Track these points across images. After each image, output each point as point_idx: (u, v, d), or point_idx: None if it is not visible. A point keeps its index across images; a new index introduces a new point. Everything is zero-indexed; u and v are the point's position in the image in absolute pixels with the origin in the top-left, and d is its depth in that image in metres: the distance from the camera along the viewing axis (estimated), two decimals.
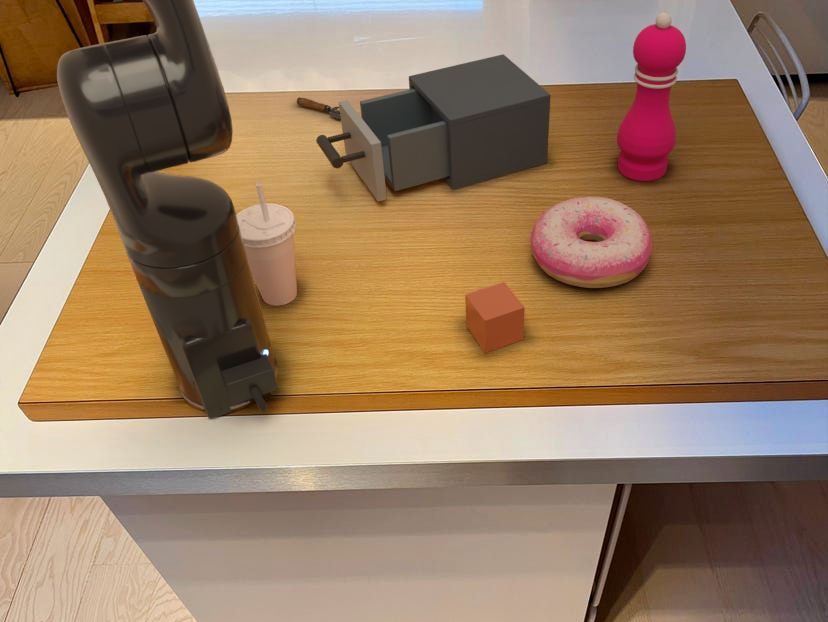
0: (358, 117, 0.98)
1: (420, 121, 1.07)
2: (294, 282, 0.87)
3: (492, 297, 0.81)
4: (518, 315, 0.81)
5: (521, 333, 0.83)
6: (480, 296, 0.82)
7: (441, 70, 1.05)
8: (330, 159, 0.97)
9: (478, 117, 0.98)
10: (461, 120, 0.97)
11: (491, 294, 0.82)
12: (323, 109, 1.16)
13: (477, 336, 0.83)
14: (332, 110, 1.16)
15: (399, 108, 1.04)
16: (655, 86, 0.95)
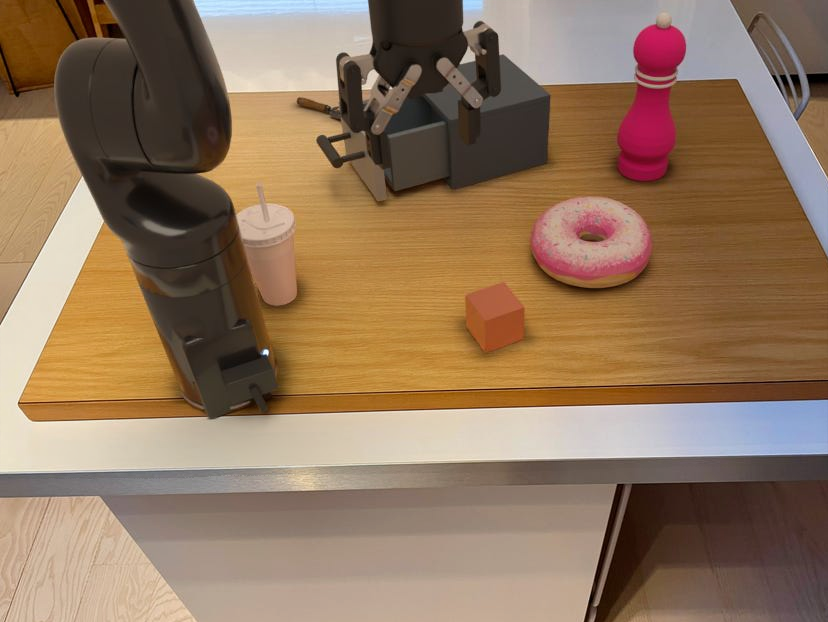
0: None
1: (420, 121, 1.07)
2: (294, 282, 0.87)
3: (492, 297, 0.81)
4: (518, 315, 0.81)
5: (521, 333, 0.83)
6: (480, 296, 0.82)
7: None
8: (330, 159, 0.97)
9: None
10: None
11: (491, 294, 0.82)
12: (323, 109, 1.16)
13: (477, 336, 0.83)
14: (332, 110, 1.16)
15: None
16: (655, 86, 0.95)
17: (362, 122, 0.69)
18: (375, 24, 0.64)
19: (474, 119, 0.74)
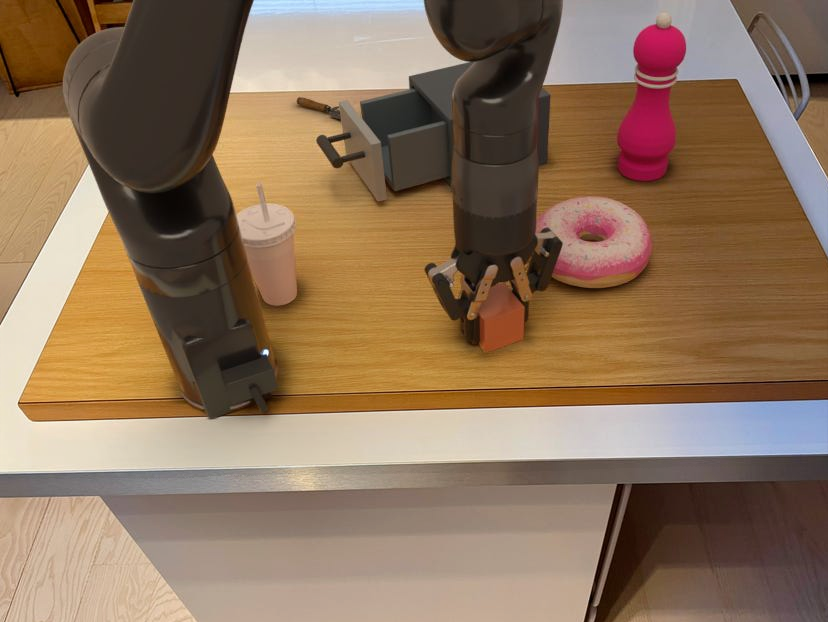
0: (358, 117, 0.98)
1: (420, 121, 1.07)
2: (294, 282, 0.87)
3: (492, 297, 0.81)
4: (518, 315, 0.81)
5: (521, 333, 0.83)
6: None
7: (441, 70, 1.05)
8: (330, 159, 0.97)
9: None
10: None
11: (491, 294, 0.82)
12: (323, 109, 1.16)
13: None
14: (332, 110, 1.16)
15: (399, 108, 1.04)
16: (655, 86, 0.95)
17: (460, 312, 0.78)
18: (459, 234, 0.73)
19: None
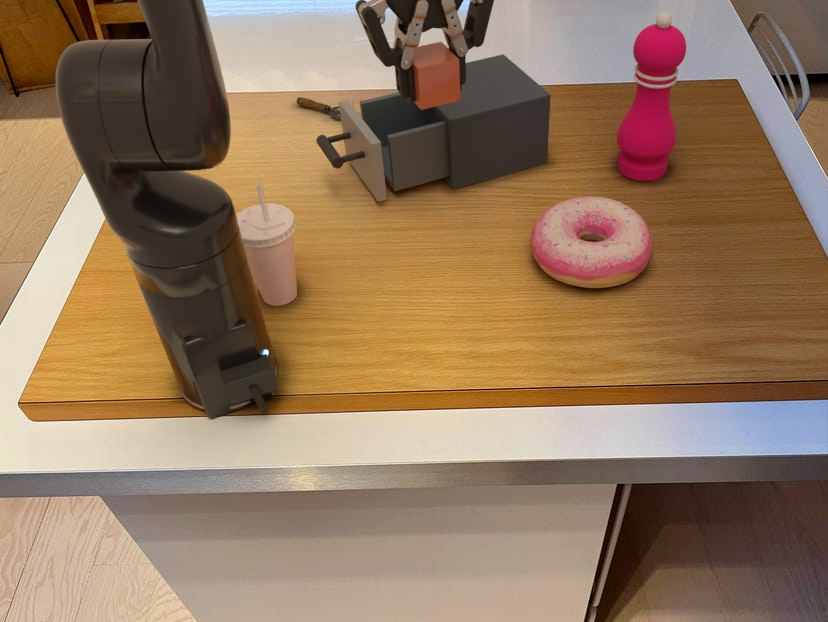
0: (358, 117, 0.98)
1: (420, 121, 1.07)
2: (294, 282, 0.87)
3: (428, 52, 0.82)
4: (453, 68, 0.81)
5: (457, 92, 0.83)
6: (416, 51, 0.82)
7: None
8: (330, 159, 0.97)
9: (478, 117, 0.98)
10: (461, 120, 0.97)
11: (427, 50, 0.82)
12: (323, 109, 1.16)
13: None
14: (332, 110, 1.16)
15: (399, 108, 1.04)
16: (655, 86, 0.95)
17: (393, 57, 0.78)
18: None
19: (460, 67, 0.82)
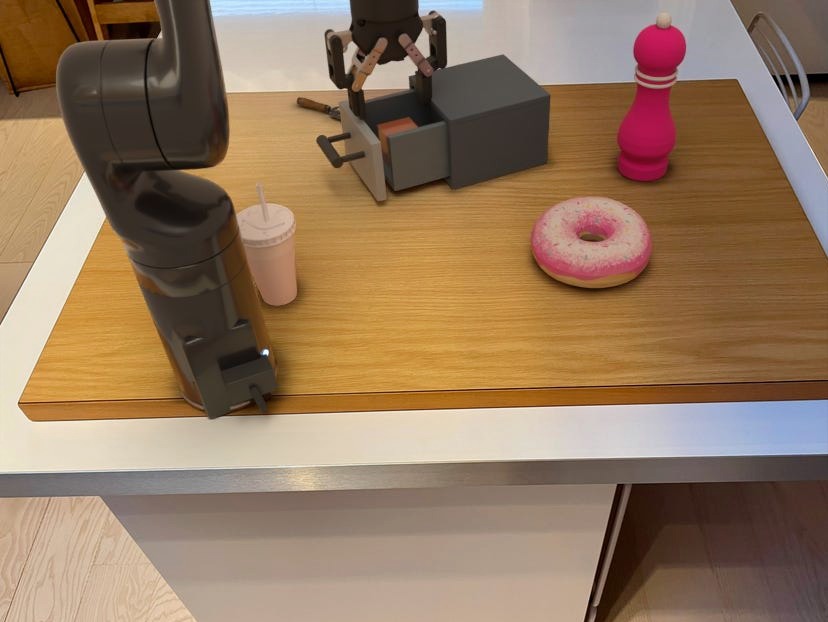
0: None
1: (420, 121, 1.07)
2: (294, 282, 0.87)
3: (398, 126, 1.01)
4: None
5: None
6: (388, 126, 1.02)
7: (441, 70, 1.05)
8: (330, 159, 0.97)
9: (478, 117, 0.98)
10: (461, 120, 0.97)
11: (397, 124, 1.02)
12: (323, 109, 1.16)
13: (387, 160, 1.02)
14: (332, 110, 1.16)
15: (399, 108, 1.04)
16: (655, 86, 0.95)
17: (345, 81, 0.92)
18: (353, 6, 0.88)
19: (427, 85, 0.98)
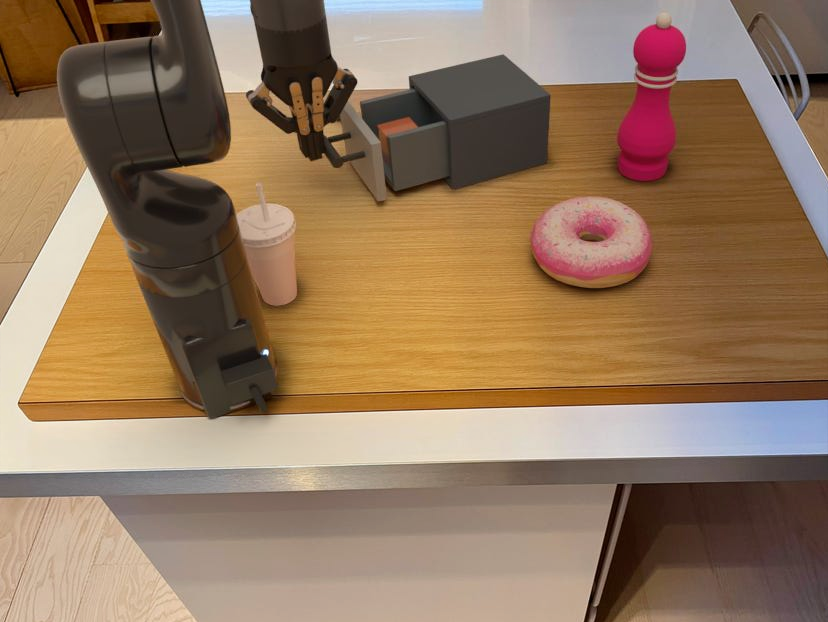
0: (358, 117, 0.98)
1: (420, 121, 1.07)
2: (294, 282, 0.87)
3: (398, 126, 1.01)
4: None
5: None
6: (388, 126, 1.02)
7: (441, 70, 1.05)
8: (330, 159, 0.97)
9: (478, 117, 0.98)
10: (461, 120, 0.97)
11: (397, 124, 1.02)
12: None
13: (387, 160, 1.02)
14: None
15: (399, 108, 1.04)
16: (655, 86, 0.95)
17: (292, 126, 0.93)
18: (262, 52, 0.87)
19: (318, 139, 0.96)
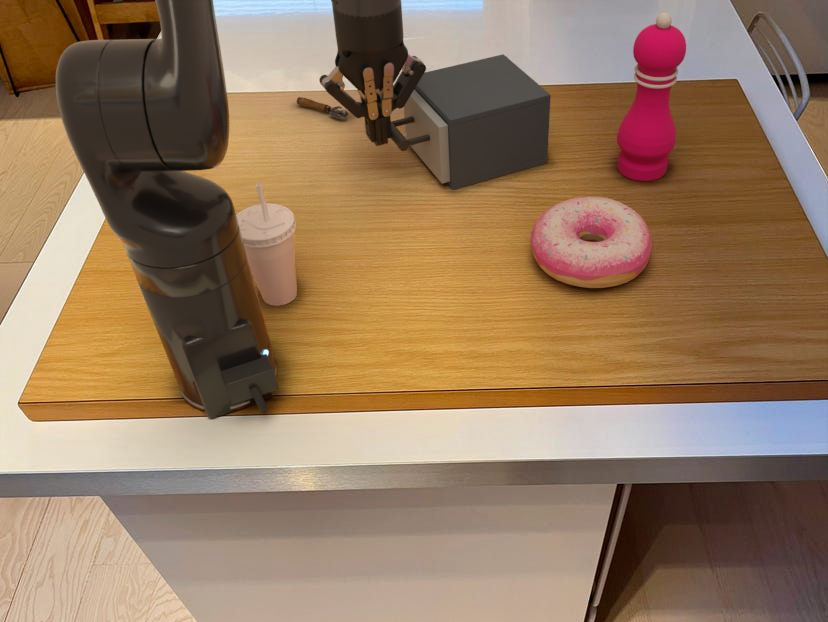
0: (423, 101, 1.01)
1: None
2: (294, 282, 0.87)
3: None
4: None
5: None
6: None
7: (441, 70, 1.05)
8: (397, 142, 0.99)
9: (478, 117, 0.98)
10: (461, 120, 0.97)
11: None
12: (323, 109, 1.16)
13: None
14: (332, 110, 1.16)
15: None
16: (655, 86, 0.95)
17: (362, 110, 0.96)
18: (338, 38, 0.90)
19: (385, 125, 0.99)
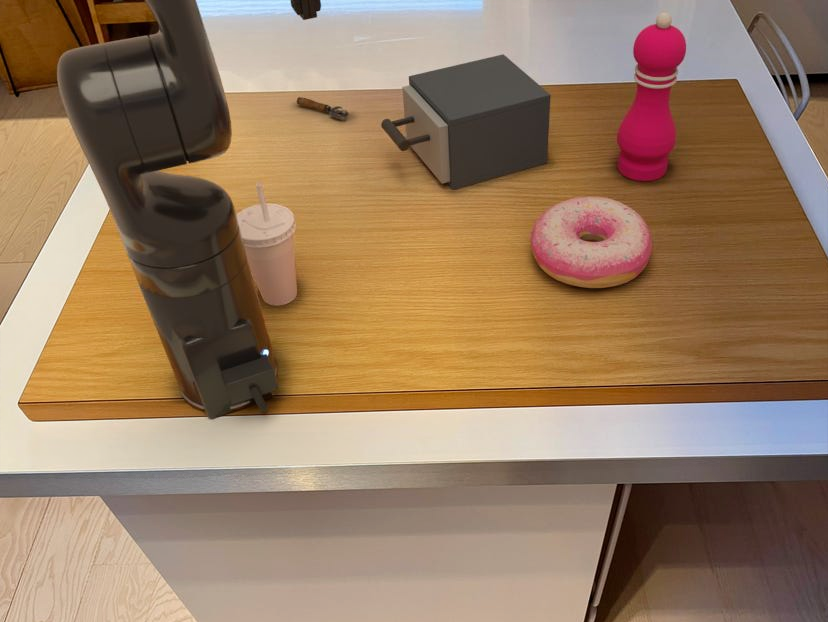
0: (423, 101, 1.01)
1: None
2: (294, 282, 0.87)
3: None
4: None
5: None
6: None
7: (441, 70, 1.05)
8: (397, 142, 0.99)
9: (478, 117, 0.98)
10: (461, 120, 0.97)
11: None
12: (323, 109, 1.16)
13: None
14: (332, 110, 1.16)
15: None
16: (655, 86, 0.95)
17: None
18: None
19: None
